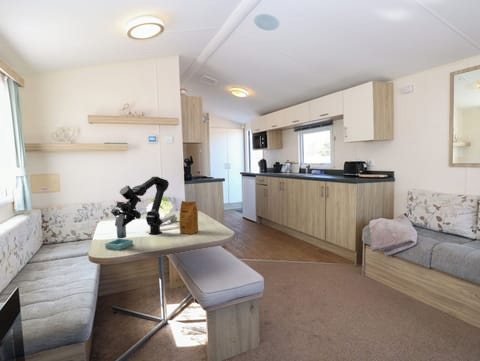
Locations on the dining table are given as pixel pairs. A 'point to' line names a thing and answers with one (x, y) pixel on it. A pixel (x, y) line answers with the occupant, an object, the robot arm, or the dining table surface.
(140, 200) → the robot arm
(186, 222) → the coffee package
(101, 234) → the dining table surface
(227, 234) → the dining table surface
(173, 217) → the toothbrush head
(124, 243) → the tray
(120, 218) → the block
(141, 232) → the dining table surface
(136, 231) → the dining table surface
